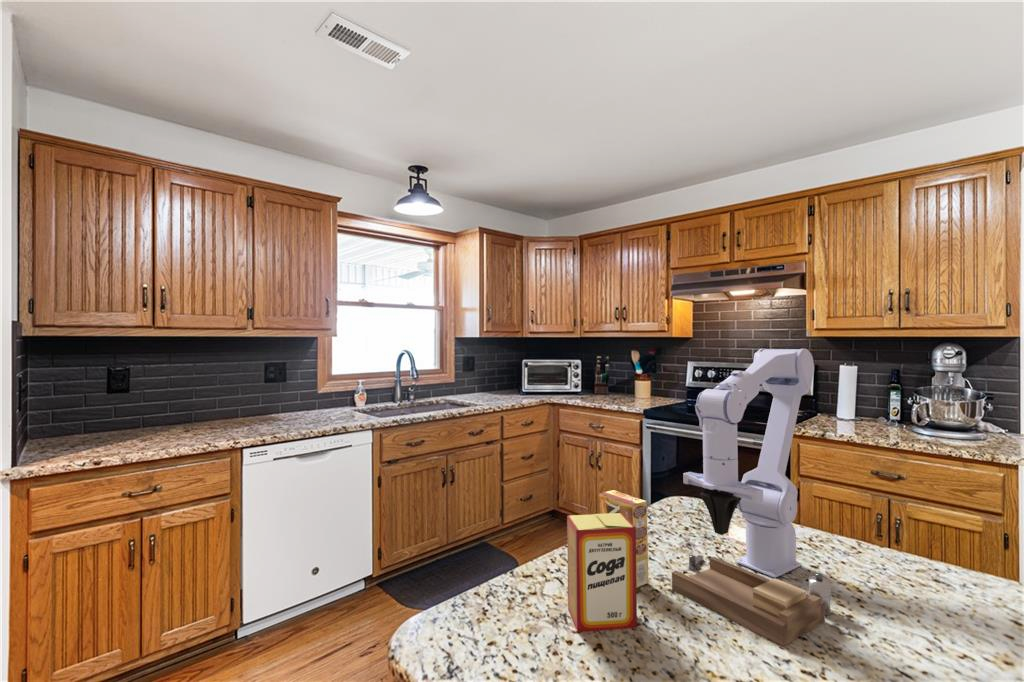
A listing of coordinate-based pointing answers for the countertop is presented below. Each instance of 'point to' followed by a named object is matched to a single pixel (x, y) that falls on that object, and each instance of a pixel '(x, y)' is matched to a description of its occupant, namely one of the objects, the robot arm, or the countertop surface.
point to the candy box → (637, 516)
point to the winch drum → (820, 590)
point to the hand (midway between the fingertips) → (721, 532)
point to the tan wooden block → (776, 597)
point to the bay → (747, 601)
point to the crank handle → (694, 561)
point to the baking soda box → (601, 572)
